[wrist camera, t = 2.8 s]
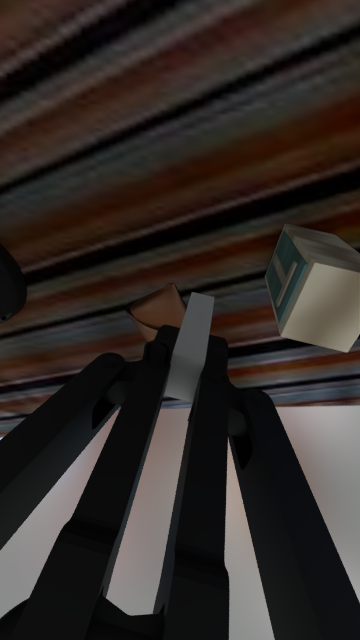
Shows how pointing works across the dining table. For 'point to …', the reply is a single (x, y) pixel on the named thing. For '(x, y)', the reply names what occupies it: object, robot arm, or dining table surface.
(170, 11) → the dining table surface
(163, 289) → the sunglasses case
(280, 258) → the cream and teal box
